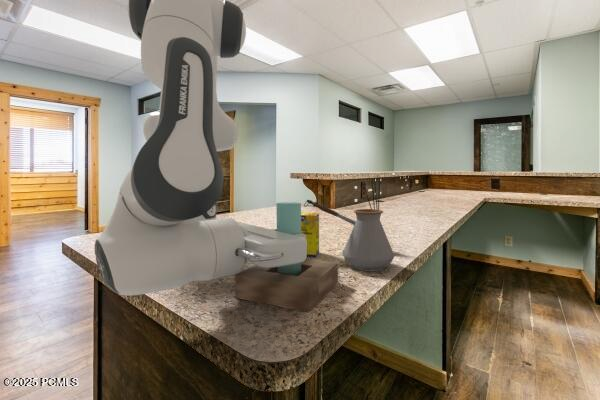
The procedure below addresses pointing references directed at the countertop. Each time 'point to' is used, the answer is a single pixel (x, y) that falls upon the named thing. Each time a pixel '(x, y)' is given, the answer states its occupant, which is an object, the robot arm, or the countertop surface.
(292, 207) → the peg
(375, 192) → the reed diffuser
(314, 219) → the supplement box
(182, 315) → the countertop surface
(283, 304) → the socket block
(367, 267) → the coffee pot
